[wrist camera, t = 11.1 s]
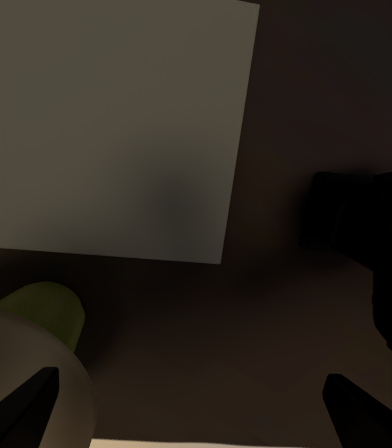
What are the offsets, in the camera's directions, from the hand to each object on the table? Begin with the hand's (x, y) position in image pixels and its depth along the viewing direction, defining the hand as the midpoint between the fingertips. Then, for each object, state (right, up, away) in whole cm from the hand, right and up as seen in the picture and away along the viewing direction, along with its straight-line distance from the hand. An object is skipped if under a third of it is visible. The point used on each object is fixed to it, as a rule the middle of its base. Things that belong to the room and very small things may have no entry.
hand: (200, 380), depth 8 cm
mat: (-6, +12, +10) cm, 16 cm away
